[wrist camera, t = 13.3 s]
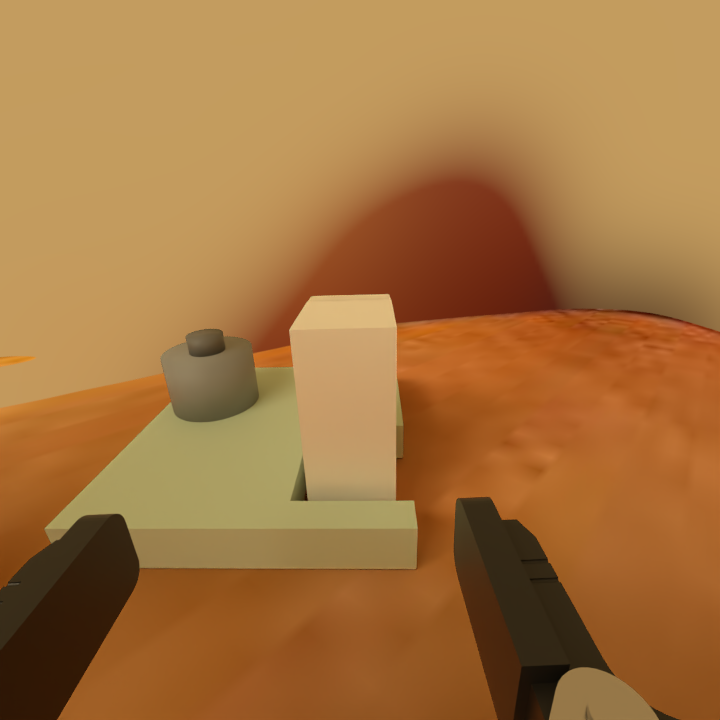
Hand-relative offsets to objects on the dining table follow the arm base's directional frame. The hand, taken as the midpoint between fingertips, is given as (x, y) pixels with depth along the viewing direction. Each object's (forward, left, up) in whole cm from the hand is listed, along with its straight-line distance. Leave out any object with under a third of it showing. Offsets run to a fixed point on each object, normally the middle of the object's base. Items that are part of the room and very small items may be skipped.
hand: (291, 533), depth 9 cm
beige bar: (+1, +11, -9) cm, 14 cm away
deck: (-5, +15, -9) cm, 18 cm away
